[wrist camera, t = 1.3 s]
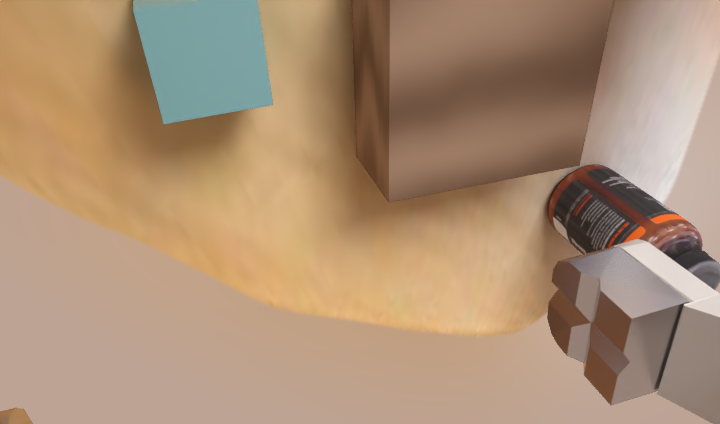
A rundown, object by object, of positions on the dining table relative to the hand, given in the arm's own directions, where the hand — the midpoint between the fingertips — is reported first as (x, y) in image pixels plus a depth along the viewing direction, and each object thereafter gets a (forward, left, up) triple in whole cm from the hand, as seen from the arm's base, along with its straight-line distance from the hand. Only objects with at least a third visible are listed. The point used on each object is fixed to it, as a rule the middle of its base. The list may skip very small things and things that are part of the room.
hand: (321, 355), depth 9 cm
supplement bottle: (+17, +25, -24) cm, 39 cm away
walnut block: (+4, +14, -25) cm, 29 cm away
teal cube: (+1, 0, -24) cm, 24 cm away
